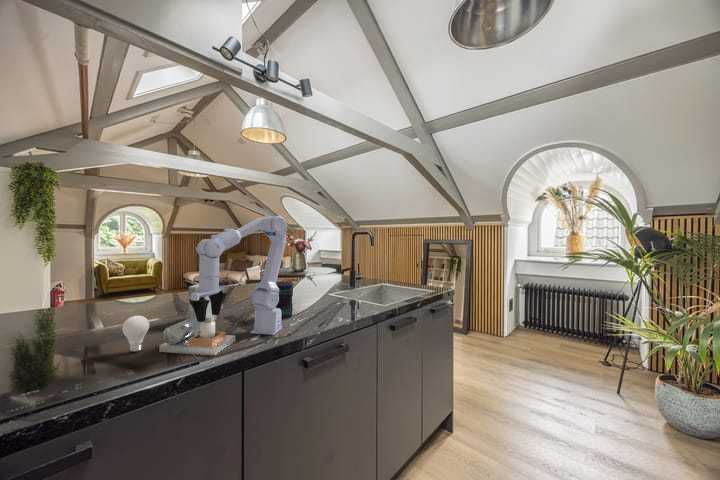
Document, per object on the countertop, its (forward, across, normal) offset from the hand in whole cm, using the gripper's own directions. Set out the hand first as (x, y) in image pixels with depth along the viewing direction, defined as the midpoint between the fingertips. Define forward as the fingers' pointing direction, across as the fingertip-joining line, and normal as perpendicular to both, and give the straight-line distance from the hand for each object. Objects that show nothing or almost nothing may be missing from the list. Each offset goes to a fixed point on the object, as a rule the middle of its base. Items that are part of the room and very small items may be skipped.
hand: (208, 318), depth 94 cm
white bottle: (+7, 0, 0) cm, 7 cm away
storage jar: (+10, -38, +10) cm, 40 cm away
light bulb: (+10, +7, -19) cm, 22 cm away
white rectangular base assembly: (+9, 0, -3) cm, 10 cm away
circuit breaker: (+10, -28, -19) cm, 35 cm away
